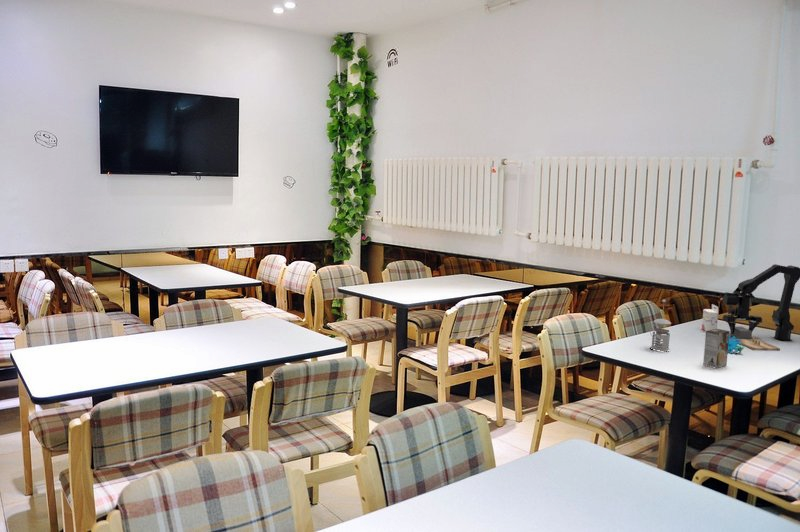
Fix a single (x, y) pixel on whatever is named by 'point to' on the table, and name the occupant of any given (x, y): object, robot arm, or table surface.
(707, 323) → the ink cartridge box
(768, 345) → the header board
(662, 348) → the french press
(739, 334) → the block
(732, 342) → the gear
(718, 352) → the coffee box
